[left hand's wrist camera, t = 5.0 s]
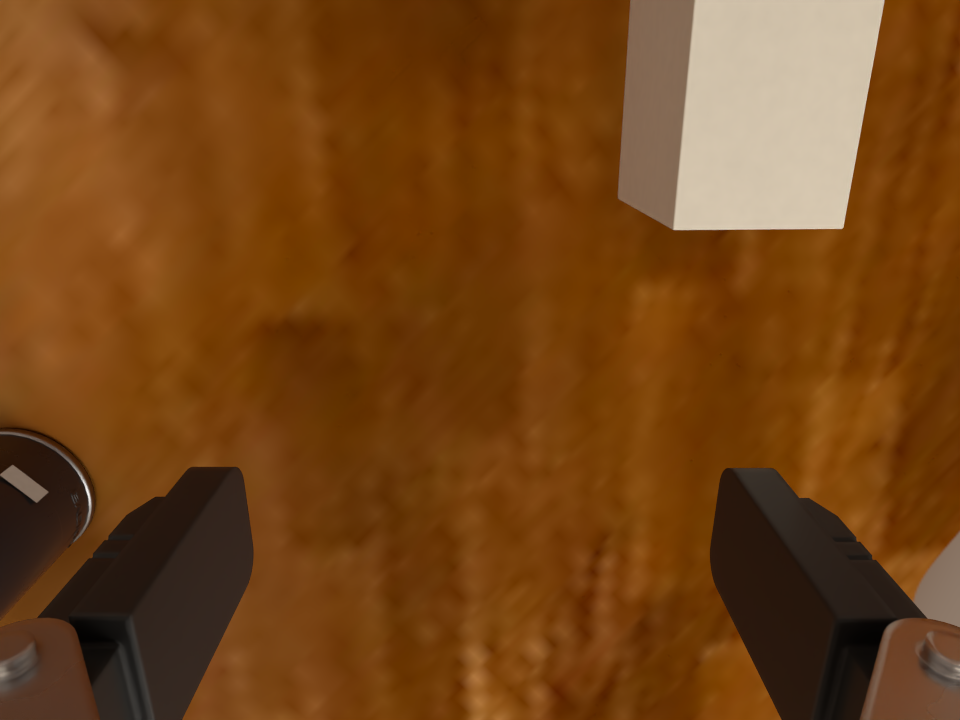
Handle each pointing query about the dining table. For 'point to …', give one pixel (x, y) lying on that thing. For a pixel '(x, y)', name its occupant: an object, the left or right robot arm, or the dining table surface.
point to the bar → (745, 110)
